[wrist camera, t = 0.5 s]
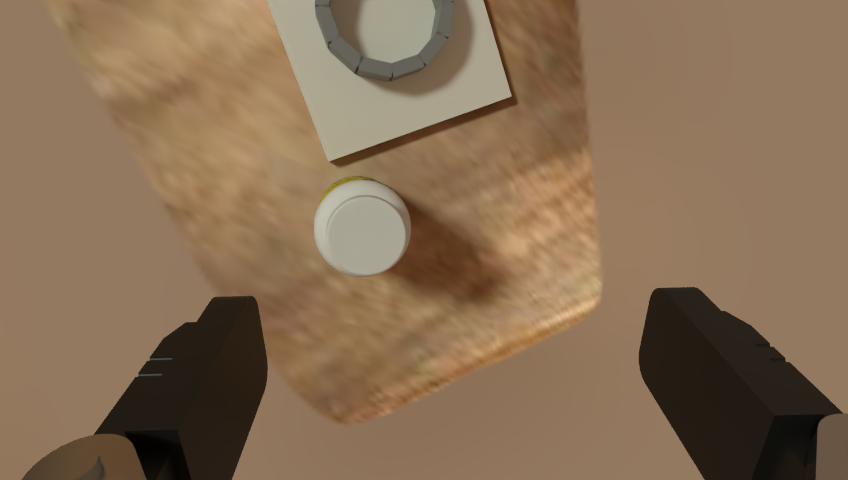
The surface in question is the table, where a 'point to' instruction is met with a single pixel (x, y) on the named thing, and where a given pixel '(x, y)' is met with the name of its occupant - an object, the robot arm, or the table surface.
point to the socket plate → (389, 43)
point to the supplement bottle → (361, 226)
